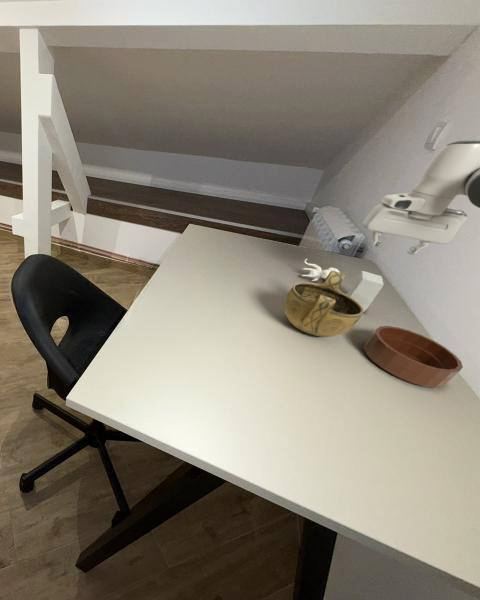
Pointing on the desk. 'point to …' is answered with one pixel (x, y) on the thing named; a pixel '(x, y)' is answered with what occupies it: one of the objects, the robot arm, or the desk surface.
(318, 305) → the ceramic bowl
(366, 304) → the small box
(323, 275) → the figurine
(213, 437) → the desk surface
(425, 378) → the terracotta bowl
